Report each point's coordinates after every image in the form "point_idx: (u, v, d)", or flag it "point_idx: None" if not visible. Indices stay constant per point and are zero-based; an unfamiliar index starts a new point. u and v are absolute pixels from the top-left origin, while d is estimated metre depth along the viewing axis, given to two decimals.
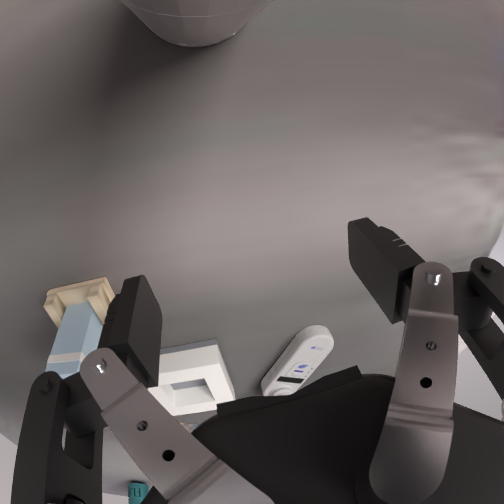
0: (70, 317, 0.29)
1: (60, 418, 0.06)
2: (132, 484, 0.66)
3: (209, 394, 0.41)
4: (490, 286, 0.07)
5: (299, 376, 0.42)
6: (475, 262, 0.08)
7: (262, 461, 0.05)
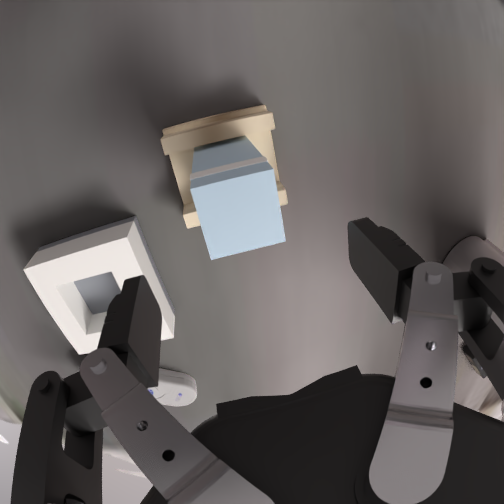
0: None
1: (60, 418, 0.06)
2: None
3: (85, 320, 0.27)
4: (490, 286, 0.07)
5: None
6: (475, 262, 0.08)
7: (262, 461, 0.05)
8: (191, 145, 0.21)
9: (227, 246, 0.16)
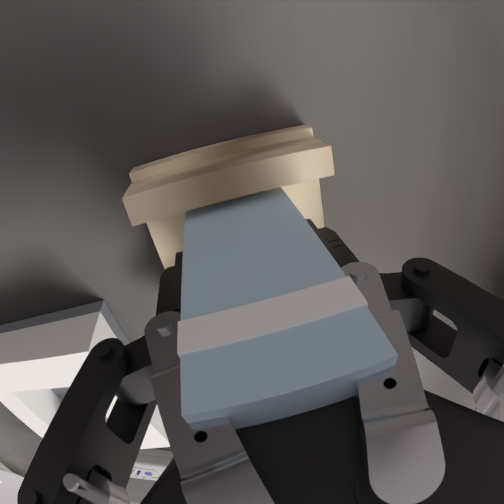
0: None
1: (112, 390, 0.07)
2: None
3: None
4: (430, 288, 0.07)
5: None
6: (406, 266, 0.08)
7: (262, 461, 0.05)
8: (180, 208, 0.11)
9: None
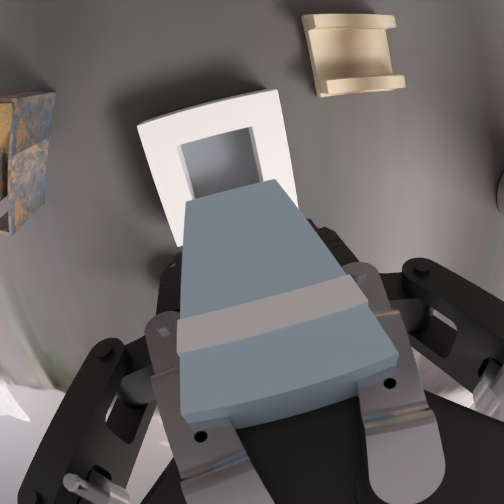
0: None
1: (112, 390, 0.07)
2: None
3: None
4: (430, 288, 0.07)
5: None
6: (406, 266, 0.08)
7: (262, 461, 0.05)
8: (337, 24, 0.20)
9: None
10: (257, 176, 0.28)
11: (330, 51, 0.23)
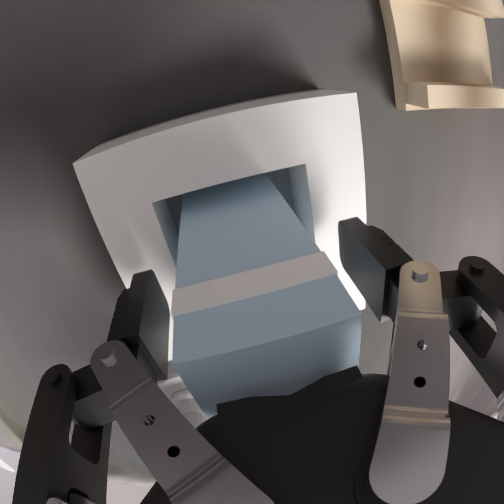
0: None
1: (68, 412, 0.06)
2: None
3: None
4: (480, 285, 0.07)
5: None
6: (463, 261, 0.08)
7: (262, 461, 0.05)
8: None
9: None
10: None
11: (421, 37, 0.12)
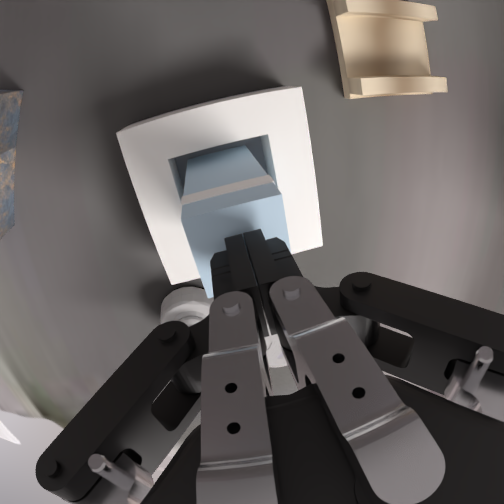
0: None
1: (166, 377, 0.07)
2: None
3: None
4: (375, 304, 0.07)
5: None
6: (343, 285, 0.08)
7: None
8: (373, 10, 0.15)
9: None
10: None
11: (362, 43, 0.18)
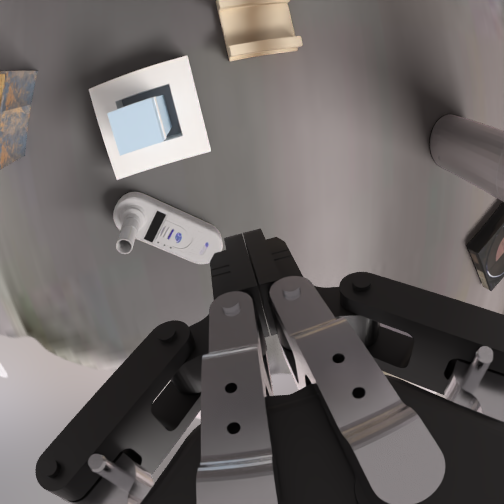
0: (164, 105, 0.30)
1: (166, 377, 0.07)
2: None
3: None
4: (375, 304, 0.07)
5: (160, 236, 0.38)
6: (343, 285, 0.08)
7: None
8: (238, 3, 0.25)
9: (128, 146, 0.24)
10: None
11: (237, 25, 0.28)
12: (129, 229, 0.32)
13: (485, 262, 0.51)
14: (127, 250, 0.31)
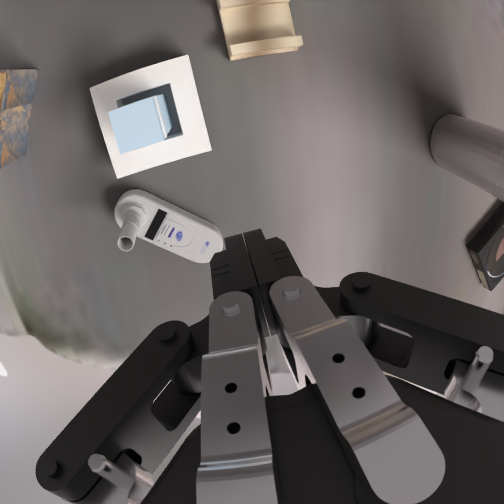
0: (164, 105, 0.30)
1: (166, 377, 0.07)
2: None
3: None
4: (375, 304, 0.07)
5: (161, 234, 0.38)
6: (343, 285, 0.08)
7: None
8: (239, 2, 0.25)
9: (129, 145, 0.24)
10: None
11: (238, 24, 0.28)
12: (130, 227, 0.32)
13: (485, 262, 0.51)
14: (128, 247, 0.31)
